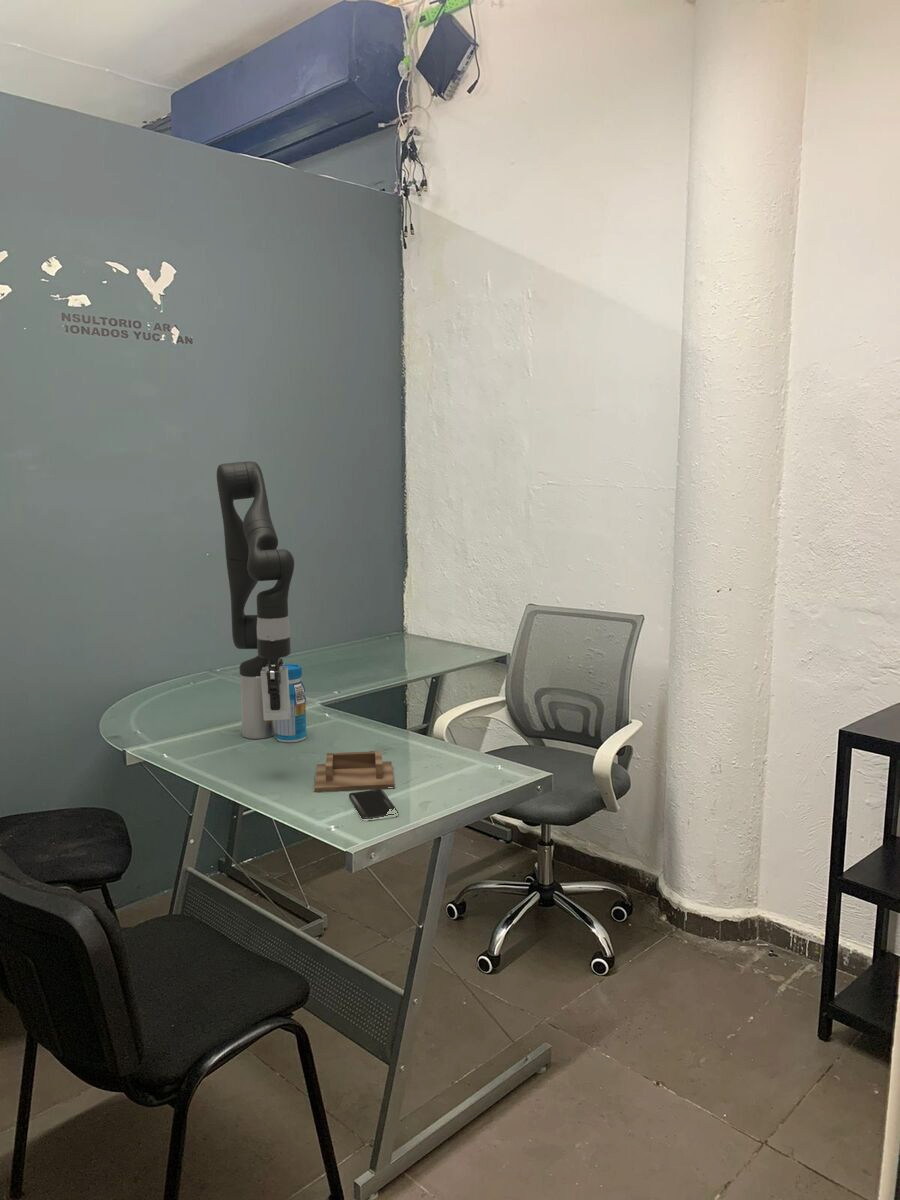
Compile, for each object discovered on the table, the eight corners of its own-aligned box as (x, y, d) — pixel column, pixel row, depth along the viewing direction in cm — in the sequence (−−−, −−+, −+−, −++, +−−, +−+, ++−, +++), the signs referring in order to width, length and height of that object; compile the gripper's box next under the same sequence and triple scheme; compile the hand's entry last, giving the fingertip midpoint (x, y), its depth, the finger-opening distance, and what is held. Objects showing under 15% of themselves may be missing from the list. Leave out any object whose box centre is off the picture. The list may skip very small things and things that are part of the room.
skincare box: (290, 715, 206) (289, 665, 204) (289, 720, 202) (287, 669, 200) (264, 715, 206) (262, 666, 204) (262, 721, 201) (260, 670, 199)
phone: (362, 818, 178) (347, 793, 192) (363, 823, 178) (348, 797, 192) (400, 813, 180) (382, 788, 194) (400, 818, 180) (382, 793, 194)
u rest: (317, 768, 210) (316, 750, 210) (391, 765, 212) (391, 747, 212) (314, 792, 195) (313, 772, 194) (394, 788, 197) (394, 769, 196)
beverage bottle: (276, 744, 229) (274, 670, 226) (274, 735, 237) (271, 664, 234) (308, 741, 231) (306, 668, 228) (305, 732, 239) (303, 662, 236)
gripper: (260, 630, 207) (263, 699, 210) (253, 642, 193) (256, 716, 196) (292, 629, 208) (294, 698, 211) (287, 641, 194) (290, 715, 197)
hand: (276, 706), depth 203 cm, fingers closed on skincare box, 4 cm apart
